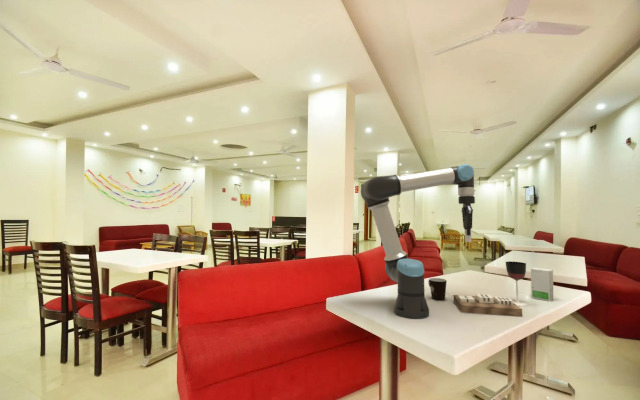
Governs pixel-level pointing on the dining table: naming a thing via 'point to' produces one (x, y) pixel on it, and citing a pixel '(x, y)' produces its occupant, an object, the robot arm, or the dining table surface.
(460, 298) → the tile one
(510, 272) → the wineglass
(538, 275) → the skincare box
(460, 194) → the robot arm
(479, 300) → the tile two
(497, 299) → the tile three
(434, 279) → the coffee mug
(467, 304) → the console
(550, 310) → the dining table surface
